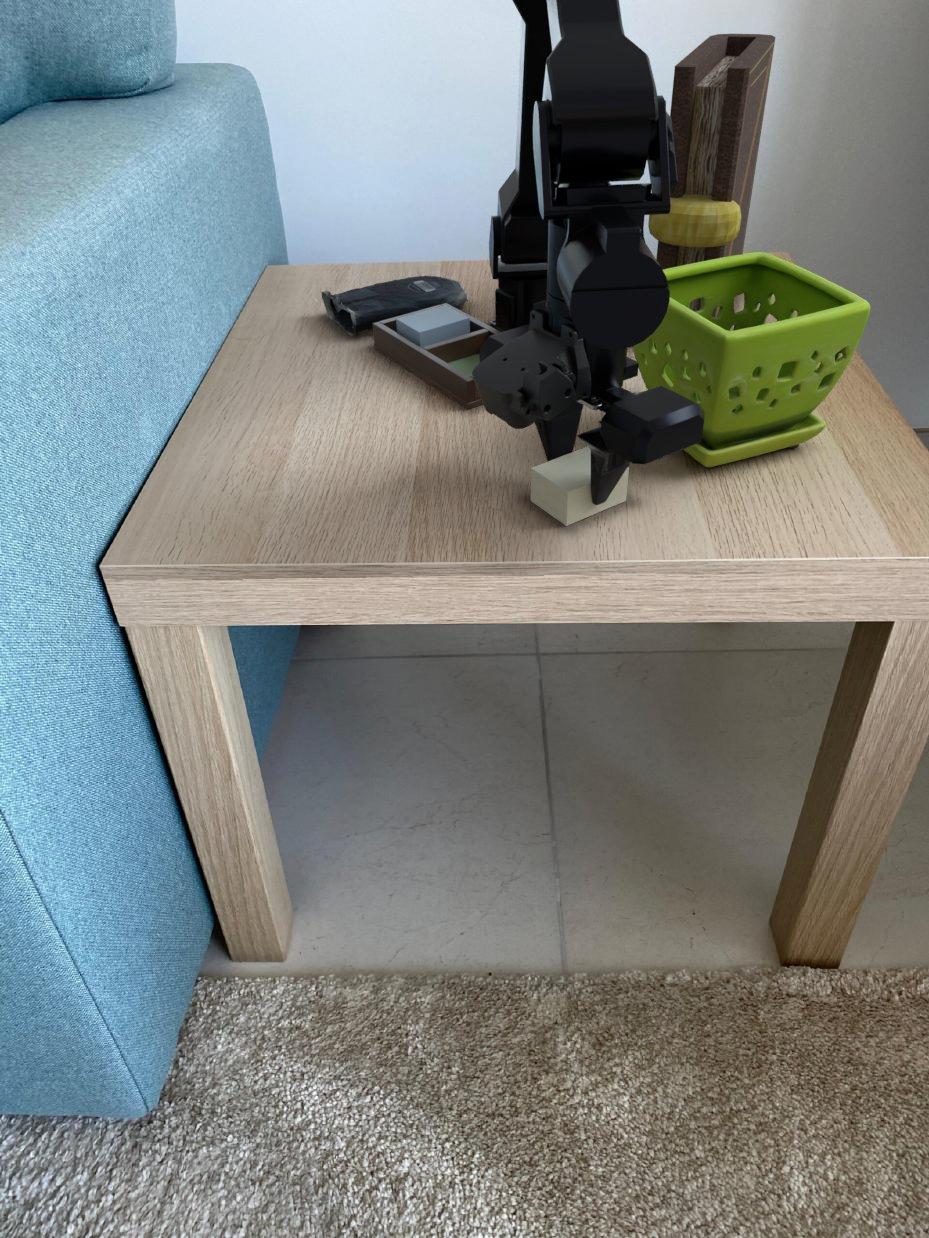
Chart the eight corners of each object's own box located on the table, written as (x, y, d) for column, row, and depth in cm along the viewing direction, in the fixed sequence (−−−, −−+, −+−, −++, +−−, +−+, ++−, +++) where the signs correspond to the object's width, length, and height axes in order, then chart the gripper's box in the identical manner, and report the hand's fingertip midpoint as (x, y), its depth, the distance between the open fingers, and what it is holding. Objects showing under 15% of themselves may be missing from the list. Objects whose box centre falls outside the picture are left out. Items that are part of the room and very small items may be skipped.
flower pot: (611, 416, 84) (622, 274, 76) (740, 386, 88) (764, 248, 80) (701, 489, 74) (725, 334, 66) (842, 451, 78) (881, 300, 70)
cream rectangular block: (589, 477, 76) (591, 444, 74) (626, 501, 73) (629, 467, 71) (530, 501, 74) (530, 467, 72) (566, 526, 71) (567, 492, 69)
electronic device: (360, 356, 99) (482, 309, 103) (345, 305, 96) (471, 258, 100) (331, 338, 107) (446, 294, 111) (316, 290, 104) (435, 247, 107)
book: (675, 281, 110) (702, 33, 94) (748, 288, 108) (789, 34, 92) (630, 354, 94) (654, 71, 79) (716, 365, 92) (758, 75, 76)
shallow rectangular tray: (447, 328, 101) (446, 302, 100) (546, 383, 90) (546, 355, 88) (374, 349, 97) (371, 323, 96) (467, 409, 86) (467, 381, 84)
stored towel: (446, 333, 99) (445, 304, 97) (470, 346, 96) (469, 317, 94) (397, 347, 96) (395, 318, 94) (421, 361, 93) (419, 332, 91)
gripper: (414, 278, 66) (427, 472, 75) (586, 366, 53) (574, 585, 63) (540, 245, 70) (536, 433, 80) (724, 320, 58) (693, 530, 68)
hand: (578, 489), depth 73 cm, fingers closed on cream rectangular block, 4 cm apart
